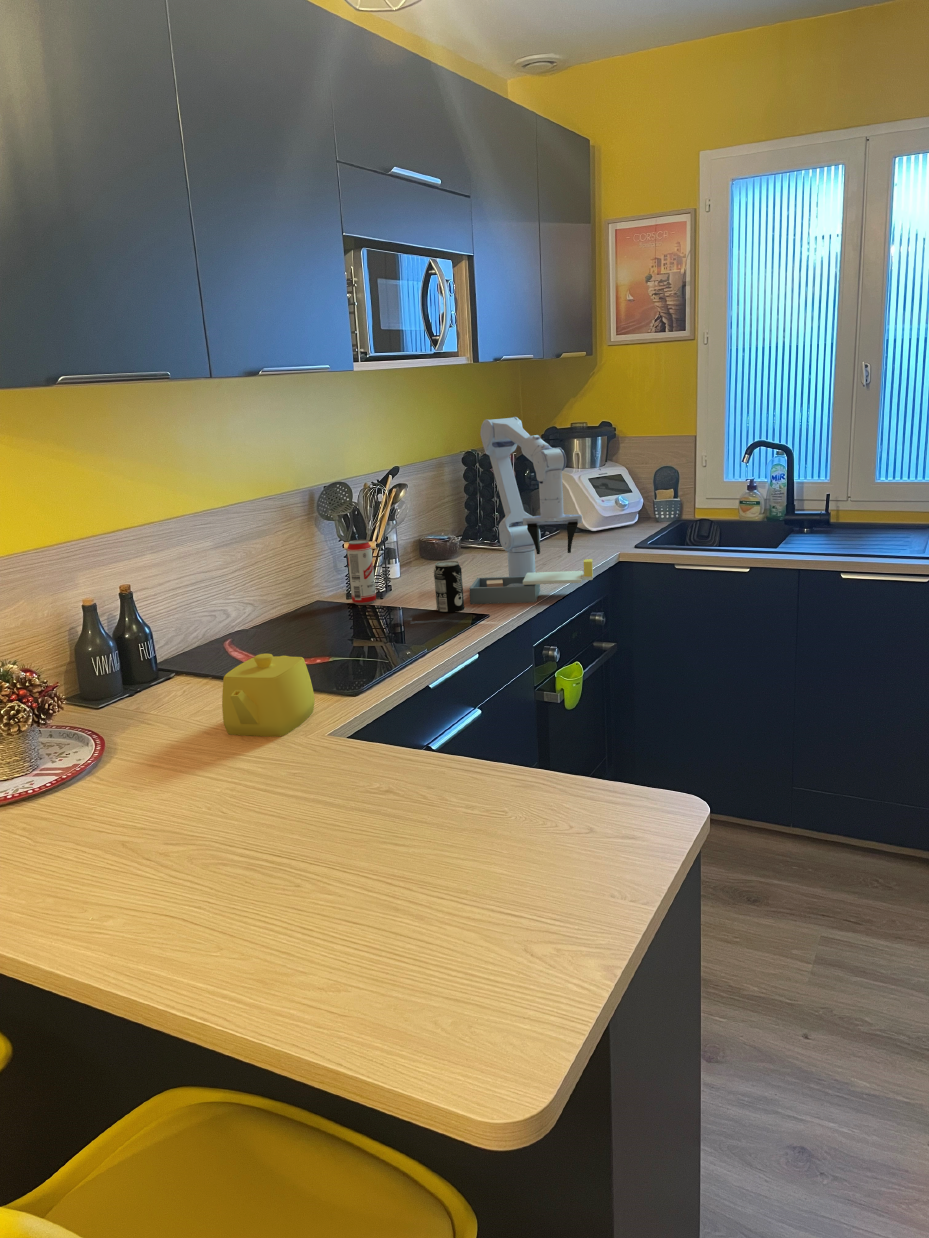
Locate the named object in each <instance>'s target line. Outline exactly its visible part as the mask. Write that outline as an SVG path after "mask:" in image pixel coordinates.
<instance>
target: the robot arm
mask: <svg viewBox="0 0 929 1238" xmlns="http://www.w3.org/2000/svg"><path fill="white" fill-rule="evenodd" d="M480 438H481V442H482V447H483V450H484V453H485V454H486V455H488V456H489V459H490V463H491V467H492V470H493V474H494V475H493V476H494V478H495V482H496V485H497V486H496V487H497V490H498V493H499V496H500V497H499V498H500V501H501V504H502V508H503V512H504V515H505V516H504V517H503V519H501V521H500V523H499V524H498V531H499V533H498V534H499V537H498V538H499V542H500V545H501V547H502V548H503V549H504V551H505V552H506V553H507V566H508V567H507V568H508V577H517V576H526V574H527V573H534V572H536V559H535V557H536V556H535V553H536V555H541V543H540V542H541V536H542V535H541V530H540V525H559V524H561V525H562V524H563V525H564V524H566V531H567V533H566V534H567V554H571V552H572V546H573V540H574V536H575V534H576V531H577V528H578V525H579V524H582V523H583V514H581V513H580V514H565V513H564V512H565V510H564V492H563V491H564V489H563V471H564V470H565V469H566V466H567V456H566V453H565V451H564V450H563V449H562V447H558V446H557V447H552V446H551V445H550V444H549V443H547V442H546V441H544V440H543V439H542V438H541V436H540V435H539V434H536V435H531V434H529V433H528V432H527V431H526V430H525V429H524V428H523V423H522V420H521V419H519V418H518V417H517V416H513V417H507V418H505V417H504V418H496V419H487V418H486V419H484V420H483V421H482V423H481V426H480ZM518 446H519V447H520V449H521V450H520V451H521V453H522V454H523V456H525V457H526V458H527V459H528V460H529V461H531V462H532V464H533V468H534V471H535V476H536V480H537V481H538V491H539V508H540V510H539V511H540V515H534V516H533V515H531V514H529V513H527V512H526V511H525V509H524V506H523V502H522V499H521V495H520V491H519V488H518V485H517V480H516V476H515V472H514V469H513V465H512V461H511V457H510V455H511V454H512V453H513V452H515V451H516V450H517V447H518ZM535 551H536V552H535Z"/></svg>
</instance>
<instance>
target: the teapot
mask: <svg viewBox="0 0 929 1238" xmlns="http://www.w3.org/2000/svg"><path fill="white" fill-rule="evenodd" d="M221 699H222V700H221V701H222V702H221V705H222V707H221V708H222V721H223V726H224V729H225V730H226V733H227V734H228V735H230V736H242V737H264V738H265V737H268V738H269V737H272V738H273V737H277V738H279V737H284V736H286V735H288V734H289V733H291V732H292V731H294V730H295V729H297V728H298V727H299V726H301V725H302V724H303V723H305V722H306V721H307V719H308V718H310V716H311V715H312V714H313V712H314V709H315V693H314V688H313V684H312V680H311V676H310V673H309V670H308V667H307V664H306V661H305V658H303V657H302V656H289V655H280V656H278V655H277V656H274V655H273V654H272V653H259V654H257V655H255V656H254V657H251V658H249V659H247V660H246V661H244V662H241V663H240V664H239V665H237V666H235V667H234V668H233V669H231V670H229V671H228V672H227V673H226V674H225V675H224V676H223V680H222V697H221Z"/></svg>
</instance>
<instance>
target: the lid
mask: <svg viewBox="0 0 929 1238" xmlns="http://www.w3.org/2000/svg"><path fill="white" fill-rule="evenodd" d="M593 561H594V560H593V558H589V559H588V558H587V559H583V570H573V571H572V570H570V571H567V570H566V571H540V572H537V571H535V572H534V573H527V574H526V576H525V578H524V580H523V585H529V584H540V585H551V584H552V585H555V584H557V585H559V584H562V585H563V584H582V581H592V580H593V579H594V569H593V568H594V567H593V565H594V564H593V563H594V562H593Z"/></svg>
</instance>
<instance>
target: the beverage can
mask: <svg viewBox="0 0 929 1238" xmlns="http://www.w3.org/2000/svg"><path fill="white" fill-rule="evenodd" d="M433 578H434V579H433V580H434V590H435V591H434V592H435V603H436V605H435V606H436V611H437V612H438V613H442V614H451V613H453V614H454V613H459V612H462V611H463V610H464V609H465V600H464V588H463V587H464V585H463V572H462V567H461V565H460V561H458V560H443V561H437V562H436V563H435V564H434V568H433Z"/></svg>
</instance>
